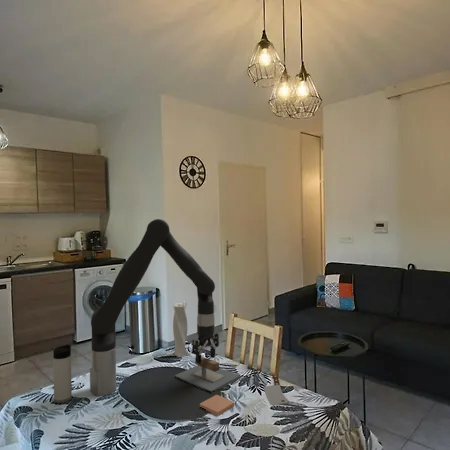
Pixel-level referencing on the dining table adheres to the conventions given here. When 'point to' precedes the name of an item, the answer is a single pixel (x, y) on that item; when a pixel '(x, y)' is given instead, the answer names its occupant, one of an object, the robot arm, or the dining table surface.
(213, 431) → the dining table surface
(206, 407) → the tile
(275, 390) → the kitchen cleaver
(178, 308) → the skyscraper
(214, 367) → the plastering trowel
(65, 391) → the travel mug
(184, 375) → the mat
